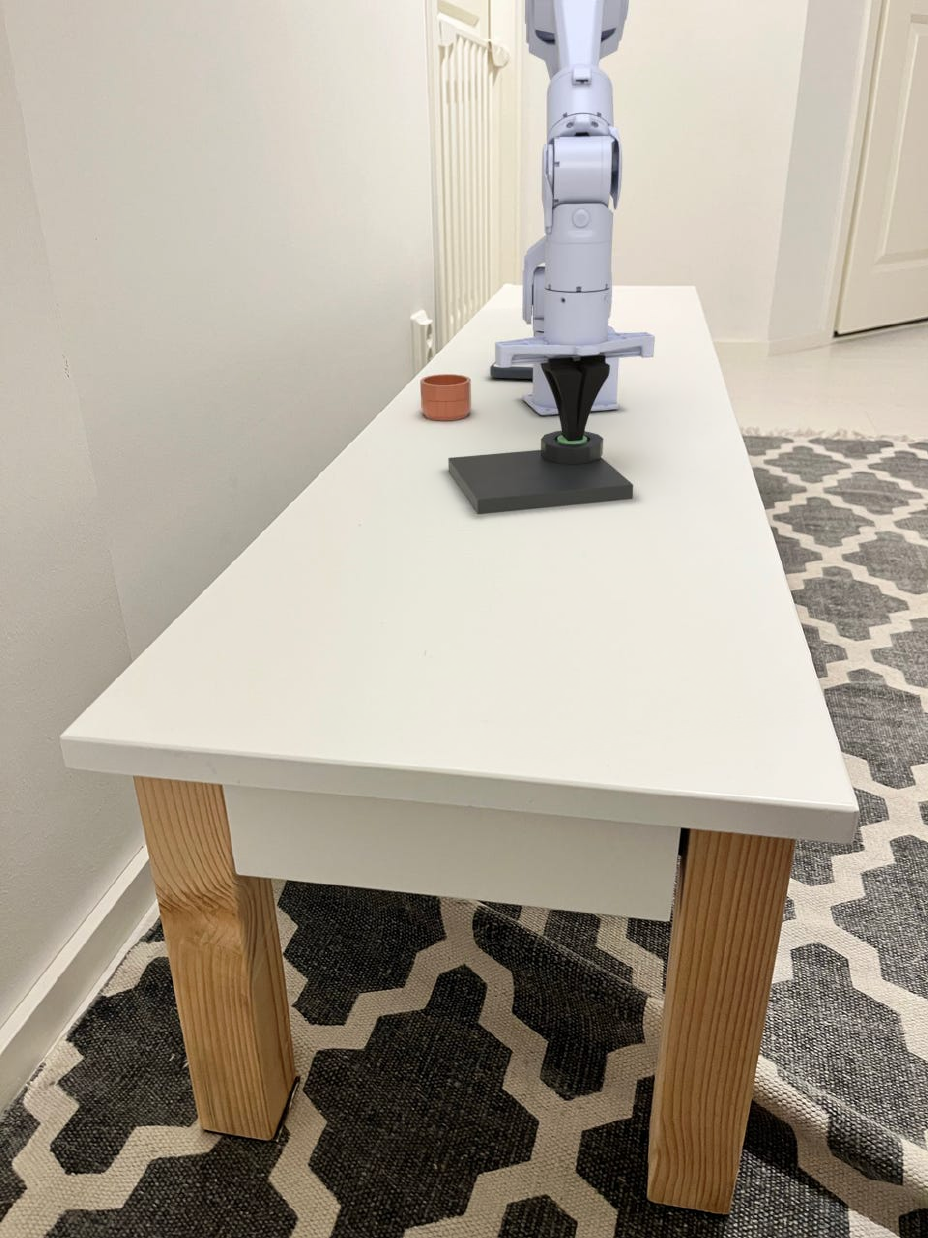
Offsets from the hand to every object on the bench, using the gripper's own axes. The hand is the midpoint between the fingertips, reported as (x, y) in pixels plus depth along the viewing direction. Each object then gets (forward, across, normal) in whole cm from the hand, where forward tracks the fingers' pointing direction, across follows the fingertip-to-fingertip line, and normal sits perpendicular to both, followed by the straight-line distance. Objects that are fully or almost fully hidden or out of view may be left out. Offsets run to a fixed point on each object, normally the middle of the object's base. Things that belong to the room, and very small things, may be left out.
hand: (572, 438), depth 92 cm
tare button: (+1, 0, 0) cm, 1 cm away
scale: (+3, -4, -4) cm, 6 cm away
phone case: (+3, +8, +42) cm, 43 cm away
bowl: (+3, -8, +22) cm, 24 cm away
